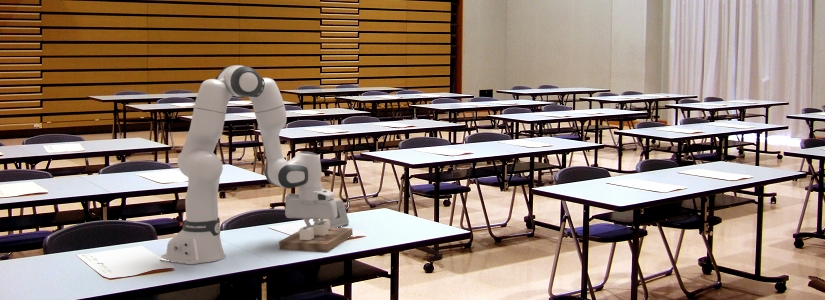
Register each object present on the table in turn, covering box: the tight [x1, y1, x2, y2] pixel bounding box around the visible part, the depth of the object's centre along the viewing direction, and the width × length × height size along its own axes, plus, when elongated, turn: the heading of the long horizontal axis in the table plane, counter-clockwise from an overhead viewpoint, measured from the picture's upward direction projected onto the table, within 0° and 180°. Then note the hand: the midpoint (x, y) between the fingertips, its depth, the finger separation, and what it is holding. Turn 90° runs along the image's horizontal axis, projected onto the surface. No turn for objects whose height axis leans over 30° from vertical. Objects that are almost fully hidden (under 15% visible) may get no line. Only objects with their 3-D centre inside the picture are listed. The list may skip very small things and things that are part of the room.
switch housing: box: [278, 227, 354, 253], centre depth 319 cm, size 19×26×3 cm
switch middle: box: [314, 221, 328, 236], centre depth 318 cm, size 4×4×5 cm
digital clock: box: [330, 198, 350, 228], centre depth 344 cm, size 16×9×11 cm, turn 133°
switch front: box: [298, 225, 314, 240], centre depth 311 cm, size 4×4×5 cm
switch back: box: [318, 219, 330, 230], centre depth 327 cm, size 4×4×5 cm
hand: (311, 230), depth 320 cm, fingers closed
